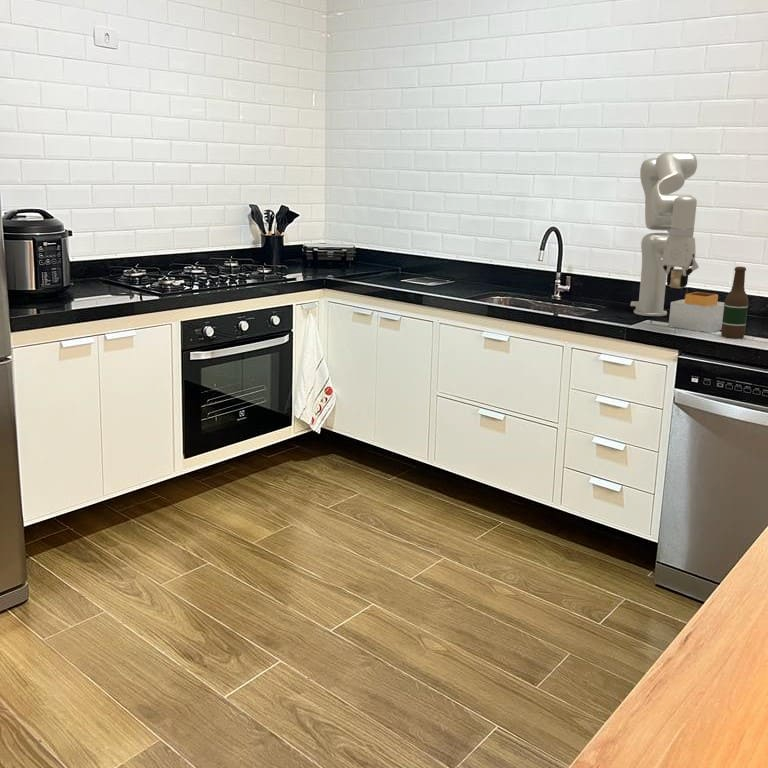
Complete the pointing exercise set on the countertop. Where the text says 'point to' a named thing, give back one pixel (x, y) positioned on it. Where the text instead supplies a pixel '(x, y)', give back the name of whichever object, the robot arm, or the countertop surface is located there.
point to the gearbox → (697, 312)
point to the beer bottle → (735, 307)
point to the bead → (676, 278)
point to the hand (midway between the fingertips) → (676, 285)
